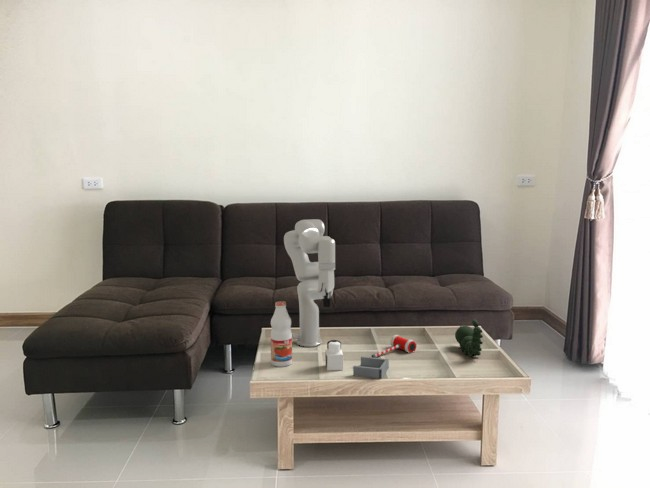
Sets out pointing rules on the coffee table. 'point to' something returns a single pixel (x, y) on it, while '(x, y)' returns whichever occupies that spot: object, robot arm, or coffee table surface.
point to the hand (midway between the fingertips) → (327, 306)
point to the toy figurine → (469, 338)
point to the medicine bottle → (334, 356)
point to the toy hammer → (399, 345)
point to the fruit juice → (281, 336)
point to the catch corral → (368, 371)
